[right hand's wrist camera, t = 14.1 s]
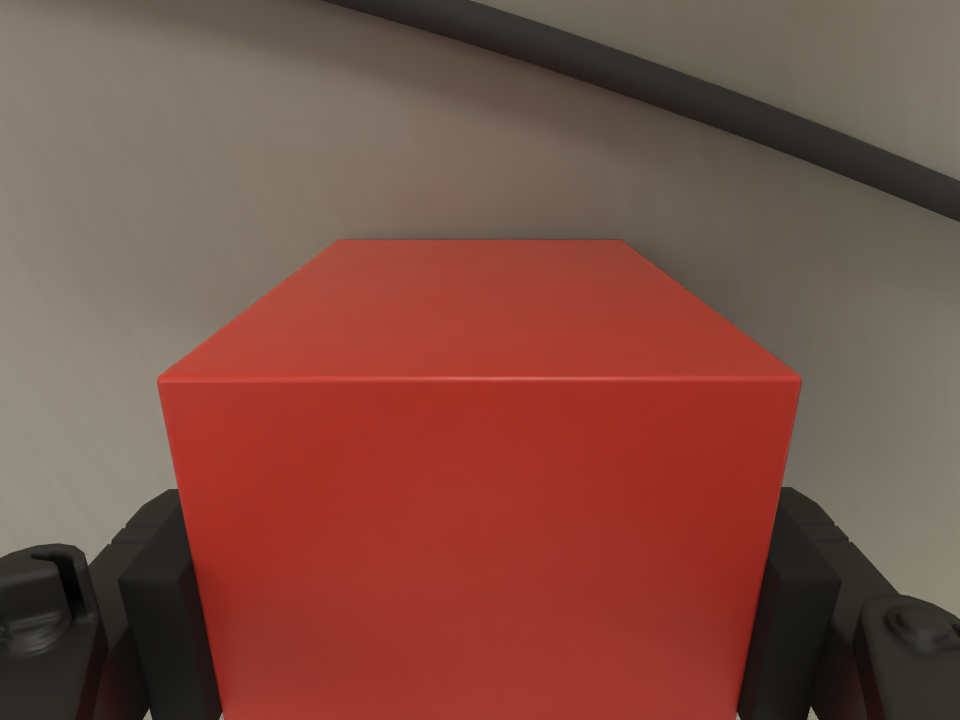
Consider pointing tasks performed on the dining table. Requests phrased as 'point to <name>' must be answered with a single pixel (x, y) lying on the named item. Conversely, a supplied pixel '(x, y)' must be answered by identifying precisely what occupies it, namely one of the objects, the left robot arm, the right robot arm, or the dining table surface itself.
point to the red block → (479, 487)
